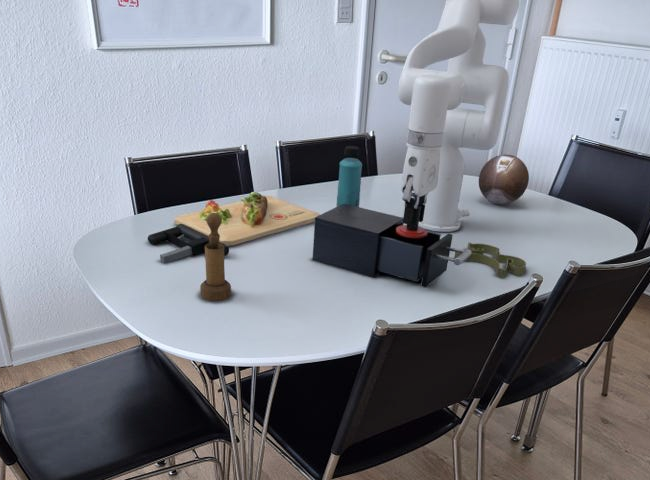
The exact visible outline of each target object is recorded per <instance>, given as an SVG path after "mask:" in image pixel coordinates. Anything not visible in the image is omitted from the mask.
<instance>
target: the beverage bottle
mask: <svg viewBox="0 0 650 480" xmlns="http://www.w3.org/2000/svg"><path fill="white" fill-rule="evenodd" d="M343 155H344V156H347V157H345V158H343V159H342V160H341V161H340V162H339V172H338V184H337V196H336V207H338V206H340V205H342V204H347V205H352V206H356V207H360V201H361V198H360V197H361V184H362V168H363V163H362V161H360V160H359V159H358V158H356V157H359V156H360V147H358V146H355V145H347V146H345V147H344V153H343Z"/></svg>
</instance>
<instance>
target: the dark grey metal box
mask: <svg viewBox="0 0 650 480" xmlns="http://www.w3.org/2000/svg"><path fill="white" fill-rule="evenodd" d="M403 218H404V217H401V216H397V215H393V214H389V213H384V212H381V211H376V210H371V209H368V208H364V207H360V206H359V207H356V206H352V205H347V204H342V205H340V206H338V207H337V206H335V207H334V208H331V209H330V210H328V211H324V212H323V213H321V214H320V215H319V216H317V217H315V221H314V227H313V228H314V229H313V243H312V244H313V246H312V261H315V262H318V263H322V264H325V265H327V266H328V265H329V266H332V267H335V268H339V269H342V270H346V271H349V272H352V273H356V274H360V275H362V276H367V277H370V278H375V277H376V276H379V274H381V273H382V272H380V271H377V270H376V265H377V256H378V248H379V239H380V236H381V235H382V234H384V233H386V232H387V231H389V230H391V229H392V228H394V227H396V226H397V225H399V224H402V225H405V224H404V223H403Z"/></svg>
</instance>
